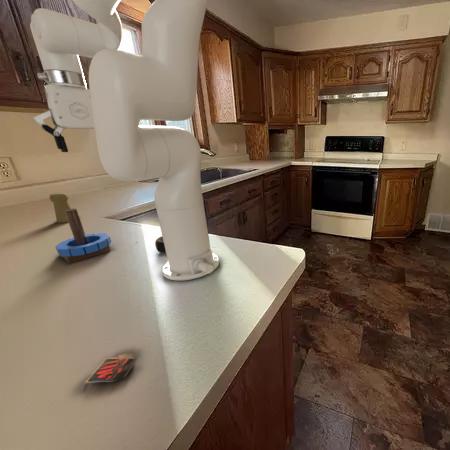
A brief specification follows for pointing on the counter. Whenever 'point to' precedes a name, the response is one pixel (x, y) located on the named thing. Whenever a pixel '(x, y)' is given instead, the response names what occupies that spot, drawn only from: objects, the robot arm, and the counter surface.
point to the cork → (60, 206)
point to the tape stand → (79, 236)
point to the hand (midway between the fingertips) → (87, 151)
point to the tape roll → (72, 249)
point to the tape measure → (160, 245)
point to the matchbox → (112, 369)
